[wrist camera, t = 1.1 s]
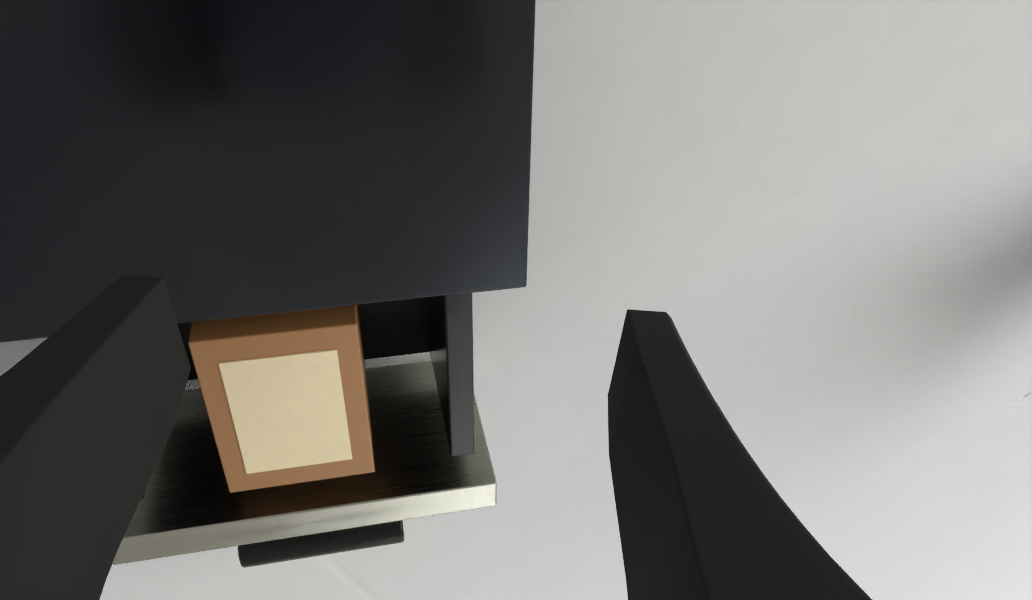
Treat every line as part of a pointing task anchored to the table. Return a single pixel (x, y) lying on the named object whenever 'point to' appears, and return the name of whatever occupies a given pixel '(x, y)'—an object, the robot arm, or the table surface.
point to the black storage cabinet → (261, 153)
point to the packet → (286, 395)
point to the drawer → (343, 500)
